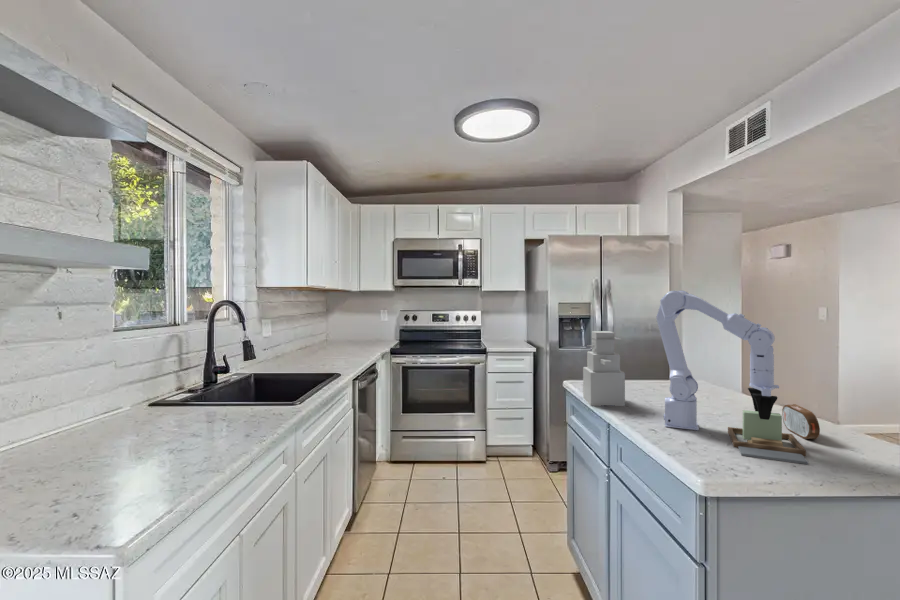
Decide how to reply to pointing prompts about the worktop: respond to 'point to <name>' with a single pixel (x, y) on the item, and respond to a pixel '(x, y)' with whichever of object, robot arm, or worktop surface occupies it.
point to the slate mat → (772, 455)
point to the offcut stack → (765, 441)
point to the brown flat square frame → (792, 439)
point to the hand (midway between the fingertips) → (762, 415)
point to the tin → (801, 421)
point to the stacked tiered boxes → (603, 372)
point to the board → (762, 426)
